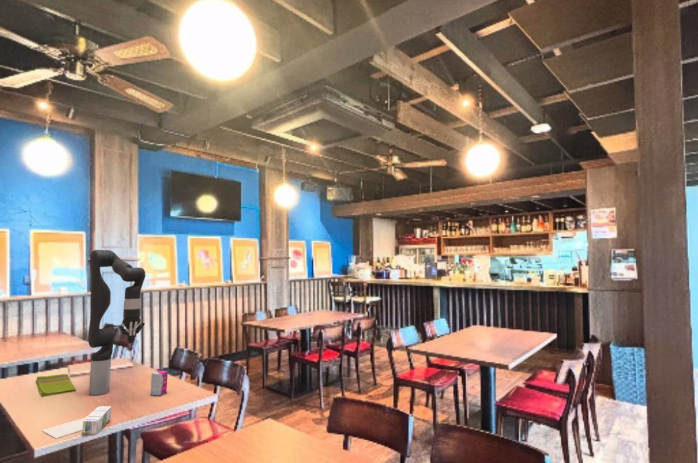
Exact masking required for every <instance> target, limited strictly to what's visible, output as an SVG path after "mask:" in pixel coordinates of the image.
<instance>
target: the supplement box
mask: <svg viewBox="0 0 698 463" xmlns="http://www.w3.org/2000/svg"><path fill="white" fill-rule="evenodd" d="M168 374H169V373H168V370H167V371H166V370H156V371H154V372H151V375H150V376H151V379H150V390H149V392H150V393H149V394H150V396H151V397H160V396H163V395H165V394H167V390H168Z"/></svg>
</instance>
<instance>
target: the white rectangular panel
mask: <svg viewBox="0 0 698 463" xmlns="http://www.w3.org/2000/svg"><path fill="white" fill-rule="evenodd" d="M85 418H86V417H82V418H79V419H76V420H73V421H69V422H65V423H62V424H59V425H55V426H53V427H49V428H45V429H42V430H41V432H43V433H44V434H46V435H48V436H50V437H52V438H53V439H55V440H56V439H57V440H58V439H61V438H63V437H66V436H69V435H72V434H75V433H79V432H82V428H83V420H84V419H85Z"/></svg>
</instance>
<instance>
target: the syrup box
mask: <svg viewBox="0 0 698 463" xmlns="http://www.w3.org/2000/svg"><path fill="white" fill-rule="evenodd" d="M111 414H112V406H97V407H96V408H95V409H94V410H93V411H92V412H91V413H90V414H89V415H87V416H86V417H84V418H85V419H84V420H83V428H82V431H81V435H97V434H98V433H99V432H100V431H101V430H102V429H103V427H104V426H106V424H107V423H108V422H109V421H111V417H112V415H111Z"/></svg>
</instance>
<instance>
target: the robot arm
mask: <svg viewBox="0 0 698 463" xmlns="http://www.w3.org/2000/svg"><path fill="white" fill-rule="evenodd" d="M89 255H90V256H89V267H90V301H89V302H90V315H89V316H90V317H89V326H88V327H89V328H88V337H87V338H88V339H87V340H88V341H87V342H88V345H89V347H90V348H93V349H94V348H95V349H96V348H100V349H99V350H97V351H96V352H94V353H92V354H91V355H90V356H91V357H90V368H89V370H90V372H89V390H88V391H89V392H88V393H89V395H91V396H101V395H104V394H108V393H109V392H110V390H111V389H110V388H111V374H112V373H111V369H112V368H111V367H112V356H113V355H112V354H113V351H114V340H115V334H114V330H113V329H112V328H111V327H105V328H100V326H101V321H102V318H103V317H104V316H105V313H107V310H108V309H109V307H110V305H111V297H112V296H111V294H112V293H111V289H110V286H108V284H107V283H106V281H105V280H104V278H103V276H102V273H101V268H108V267H109V268H110V267H111V269H112V271H113V272H114V273H115V274H117V275H119V276H120V278H121V280H122V281H124V282H127V283H133V282H134V283H133V284H132V285H130V286H126V287H125V289H124V302H123V312H122V313H123V315H122V317H123V318H122V323H120V324H118V325H117V329H118V330H120V332H121V333H122V335H125V336H126V337H127V338H126V342H127V343H128V344H133V343H134V342H135V338H136V337H135V335H137V334H139V333H140V332H141V330H142V329H143V328H144V326H145V322H143V321H142V319H141V310H142V309H141V308H142V307H141V306H142V305H141V304H142V302H141V301H142V300H141V297H142V296H141V294H142V293H141V292H142V287H143V285H144V281H145V279H146V271H145V269H144V268H143V267H133V266H132V264H130V263H128V262H126V261H124V260H123V259H121V258H120V257H119V256H118V255H117V254H116V253H115V252H114V251H113V250H110V249H109V250H108V249H94V250H92V251H91V253H90V254H89Z"/></svg>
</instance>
